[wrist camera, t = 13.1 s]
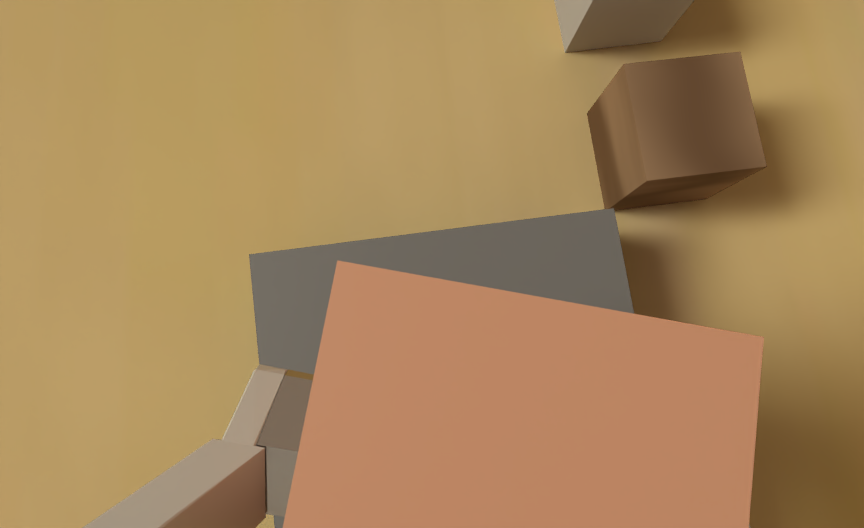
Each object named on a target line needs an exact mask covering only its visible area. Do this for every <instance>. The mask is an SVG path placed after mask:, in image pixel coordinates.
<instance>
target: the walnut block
mask: <svg viewBox="0 0 864 528" xmlns="http://www.w3.org/2000/svg"><path fill="white" fill-rule="evenodd" d="M587 116H588V121H589V126H590V132H591V137H592V143H593V148H594V153H595V159H596V164H597V170H598V175H599V181H600V186H601V191H602V197H603V202H604V208H605V209H612V208H614V210H621V209H629V208H637V207H645V206H653V205H662V204H670V203H678V202H686V201H695V200H703V199H706V198H708V197H710V196H712V195H714V194H716V193H718V192H720V191H721V190H723V189H725V188H727V187H729V186H731V185H733V184H735V183H737V182H738V181H740V180H742V179H744V178H746V177H748V176H750V175H752V174H754V173H755V172H757V171H759V170H761V169H763V168H765V167H767V165H766V161H765V157H764V152H763V148H762V144H761V139H760V135H759V131H758V126H757V122H756V118H755V113H754V109H753V105H752V100H751V96H750V92H749V87H748V83H747V79H746V74H745V70H744V66H743V61H742V57H741V53H740V52H733V53H724V54H714V55H705V56H695V57H686V58H676V59H667V60H657V61H648V62H638V63H629V64H624V65H623V66H622V67H621V69H620V70H619V71H618V73H617V74H616V75H615V77H614V78H613V79H612V81H611V82H610V83H609V85H608V86H607V87H606V89H605V90H604V91H603V93H602V94H601V95H600V97H599V98H598V99H597V101H596V102H595V103H594V105H593V106H592V107H591V109H590V110H589V111H588V113H587Z"/></svg>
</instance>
